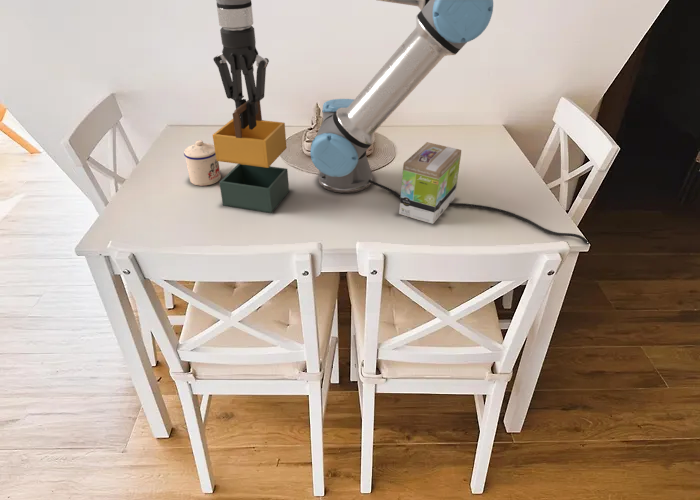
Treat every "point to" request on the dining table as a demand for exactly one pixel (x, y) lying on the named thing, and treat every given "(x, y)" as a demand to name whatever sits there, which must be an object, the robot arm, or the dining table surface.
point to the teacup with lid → (202, 164)
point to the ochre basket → (250, 141)
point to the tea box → (429, 182)
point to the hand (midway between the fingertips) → (249, 126)
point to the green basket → (254, 187)
